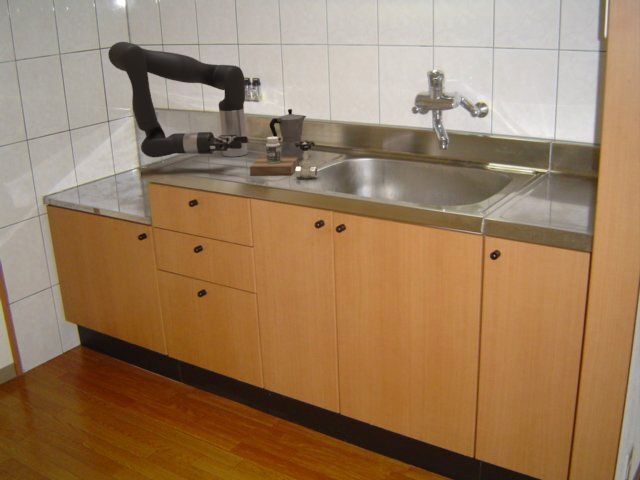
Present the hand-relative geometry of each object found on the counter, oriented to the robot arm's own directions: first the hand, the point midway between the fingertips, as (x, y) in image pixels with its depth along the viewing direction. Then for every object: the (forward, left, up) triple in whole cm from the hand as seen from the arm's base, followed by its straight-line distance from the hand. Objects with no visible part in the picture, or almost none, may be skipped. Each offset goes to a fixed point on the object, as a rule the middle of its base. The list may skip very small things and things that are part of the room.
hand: (244, 142), depth 251 cm
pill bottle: (0, +10, -7) cm, 12 cm away
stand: (0, +10, -10) cm, 14 cm away
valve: (+11, +23, -10) cm, 28 cm away
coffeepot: (-17, +12, -10) cm, 23 cm away
